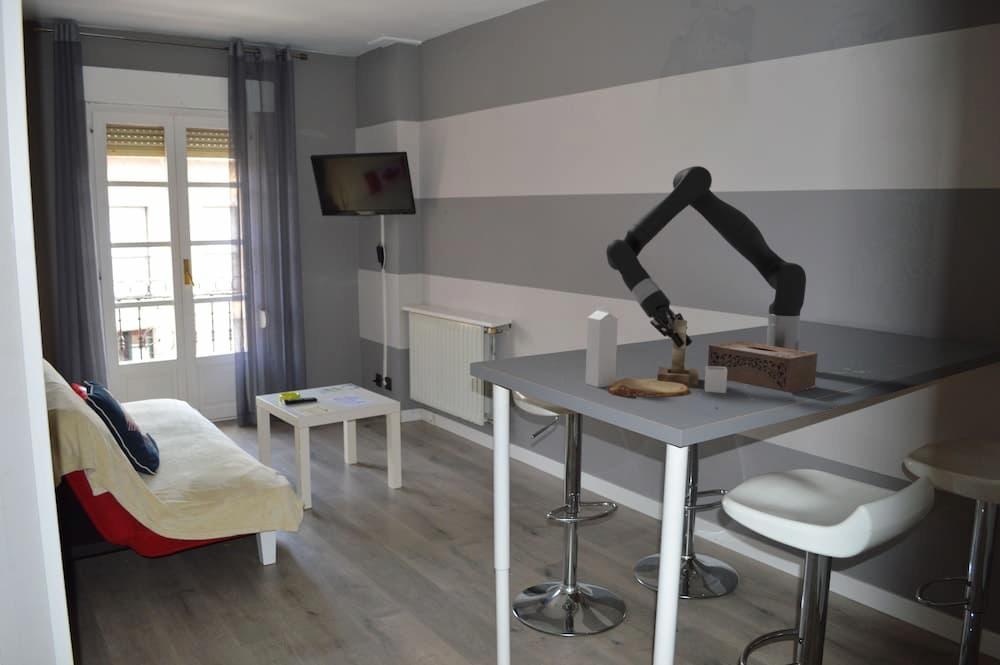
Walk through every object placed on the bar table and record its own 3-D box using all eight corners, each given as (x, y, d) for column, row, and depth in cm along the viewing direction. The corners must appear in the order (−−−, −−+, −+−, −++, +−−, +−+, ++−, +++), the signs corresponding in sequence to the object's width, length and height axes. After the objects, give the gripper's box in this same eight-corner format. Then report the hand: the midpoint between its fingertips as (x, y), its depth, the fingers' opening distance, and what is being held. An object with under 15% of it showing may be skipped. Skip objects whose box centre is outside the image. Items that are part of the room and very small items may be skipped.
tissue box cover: (707, 378, 234) (709, 345, 232) (735, 372, 243) (737, 340, 241) (787, 395, 214) (789, 358, 213) (814, 388, 223) (817, 353, 222)
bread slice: (696, 395, 213) (697, 381, 212) (657, 406, 200) (658, 391, 200) (641, 384, 225) (641, 371, 225) (601, 393, 213) (602, 379, 212)
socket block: (697, 380, 229) (697, 368, 228) (697, 389, 218) (698, 376, 218) (658, 378, 232) (659, 366, 231) (657, 386, 221) (657, 374, 220)
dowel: (683, 372, 226) (687, 320, 223) (683, 374, 222) (686, 321, 220) (671, 371, 227) (674, 319, 224) (671, 373, 223) (674, 321, 221)
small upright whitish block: (725, 390, 217) (726, 366, 216) (725, 395, 212) (727, 370, 211) (704, 389, 218) (705, 365, 217) (704, 393, 213) (705, 369, 212)
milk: (597, 388, 218) (600, 308, 214) (585, 383, 223) (587, 305, 220) (615, 385, 221) (618, 307, 217) (602, 381, 226) (605, 304, 223)
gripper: (645, 290, 221) (681, 339, 215) (672, 287, 231) (707, 334, 225) (628, 307, 225) (663, 356, 219) (655, 304, 236) (689, 350, 229)
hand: (685, 344), depth 222 cm, fingers closed on dowel, 3 cm apart
